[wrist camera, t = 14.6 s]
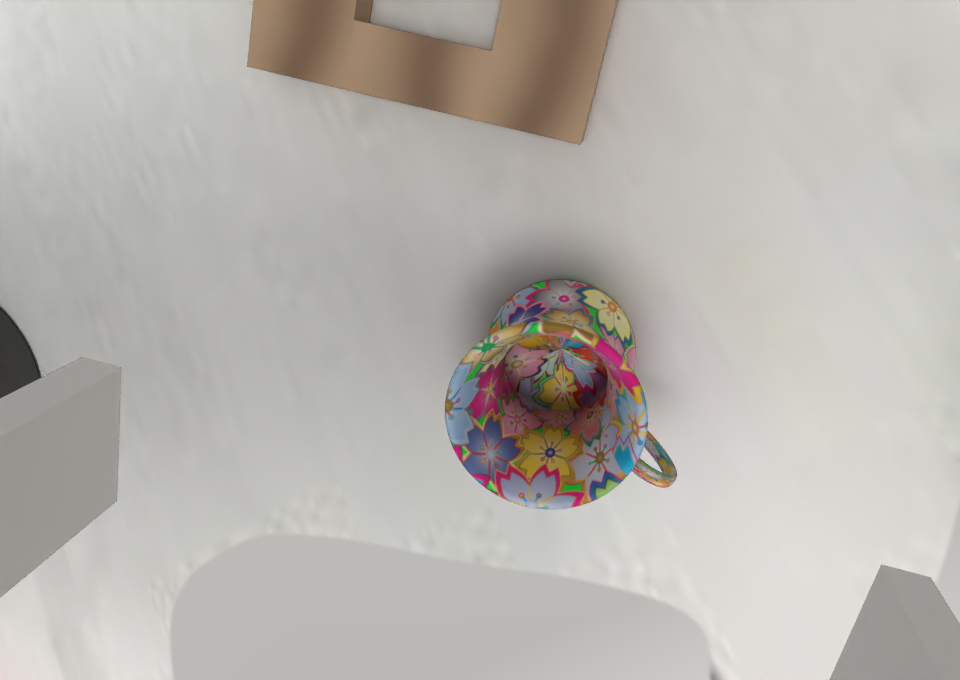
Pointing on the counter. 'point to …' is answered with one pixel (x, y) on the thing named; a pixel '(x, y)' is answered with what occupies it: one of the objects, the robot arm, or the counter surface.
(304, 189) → the counter surface
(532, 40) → the socket block
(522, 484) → the mug
